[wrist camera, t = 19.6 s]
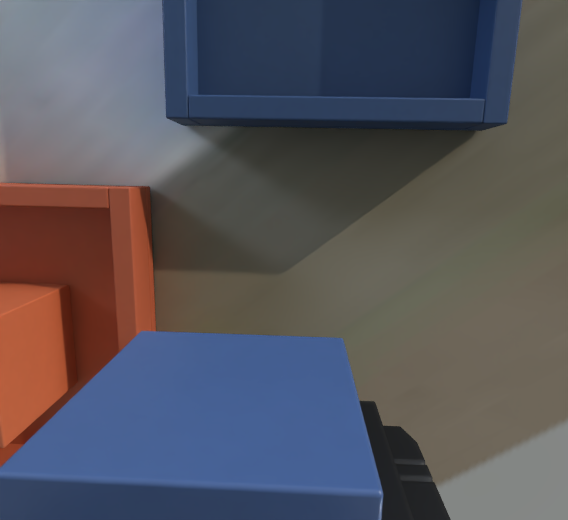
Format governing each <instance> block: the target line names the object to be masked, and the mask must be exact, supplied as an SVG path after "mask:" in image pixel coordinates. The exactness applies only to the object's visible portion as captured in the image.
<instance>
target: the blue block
mask: <svg viewBox="0 0 568 520" xmlns="http://www.w3.org/2000/svg"><path fill="white" fill-rule="evenodd" d="M382 506H383V490H382V486H381V483H380V479H379V475H378V471H377V467H376V463H375V460H374V456H373V452H372V448H371V444H370V440H369V436H368V433H367V429H366V425H365V421H364V417H363V413H362V410H361V406H360V402H359V398H358V394H357V390H356V387H355V383H354V379H353V375H352V371H351V367H350V364H349V360H348V356H347V352H346V348H345V344H344V341H343V339H342V338H326V337H298V336H270V335H243V334H215V333H187V332H160V331H141V332H140V333H138V334H137V335H136V336H135V337H134V338H133V339H132V340H131V341H130V342H129V343H128V344H127V345H126V346H125V347H124V348H123V349H122V350H121V351H120V352H119V353H118V354H117V355H116V356H115V357H114V358H113V359H112V360H111V361H110V362H108V363H107V364H106V365H105V366H104V367H103V368H102V369H101V370H100V371H99V372H98V373H97V374H96V375H95V376H94V377H93V378H92V379H91V380H90V381H89V382H88V383H87V384H86V385H85V386H84V387H83V388H82V389H81V390H80V391H78V392H77V393H76V394H75V395H74V396H73V397H72V398H71V399H70V400H69V401H68V402H67V403H66V404H65V405H64V406H63V407H62V408H61V409H60V410H59V411H58V412H57V413H56V414H55V415H54V416H53V417H52V418H51V419H49V420H48V421H47V422H46V423H45V424H44V425H43V426H42V427H41V428H40V429H39V430H38V431H37V432H36V433H35V434H34V435H33V436H32V437H31V438H30V439H29V440H28V441H27V442H26V443H25V444H24V445H23V446H22V447H21V448H19V449H18V450H17V451H16V452H15V453H14V454H13V455H12V456H11V457H10V458H9V459H8V460H7V461H6V462H5V463H4V464H3V465H2V466H1V467H0V520H381V518H382Z"/></svg>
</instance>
